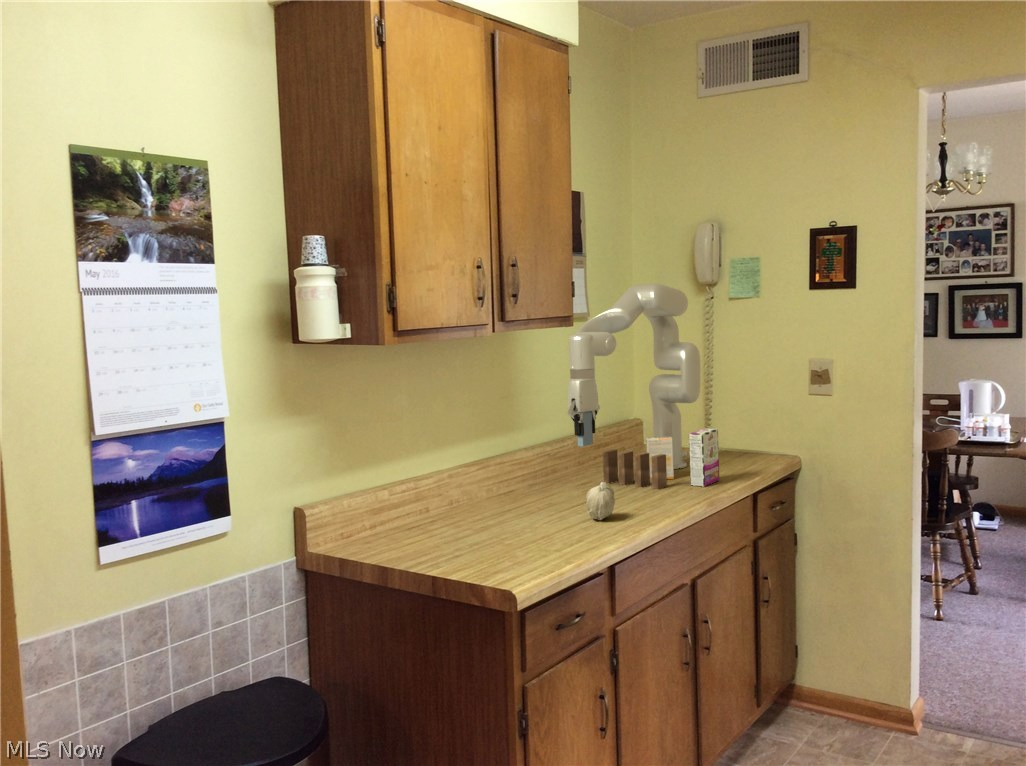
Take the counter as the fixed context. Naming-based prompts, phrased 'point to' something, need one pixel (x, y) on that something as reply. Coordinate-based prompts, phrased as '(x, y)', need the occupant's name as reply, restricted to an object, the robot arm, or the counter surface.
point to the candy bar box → (704, 457)
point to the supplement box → (661, 452)
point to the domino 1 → (586, 430)
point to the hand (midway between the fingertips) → (585, 433)
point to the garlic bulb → (600, 501)
